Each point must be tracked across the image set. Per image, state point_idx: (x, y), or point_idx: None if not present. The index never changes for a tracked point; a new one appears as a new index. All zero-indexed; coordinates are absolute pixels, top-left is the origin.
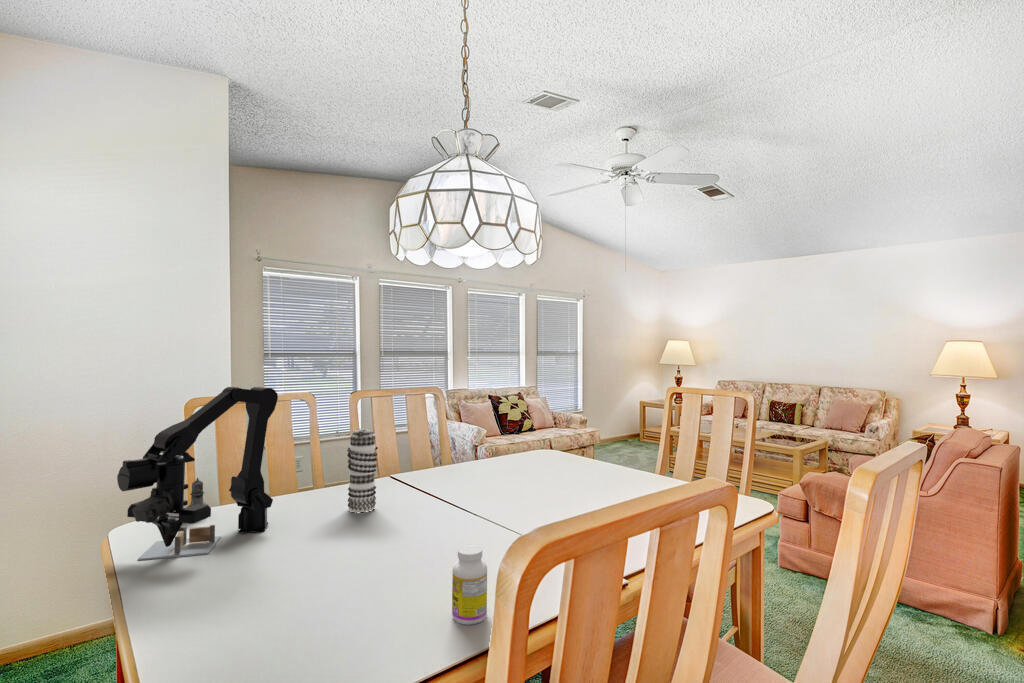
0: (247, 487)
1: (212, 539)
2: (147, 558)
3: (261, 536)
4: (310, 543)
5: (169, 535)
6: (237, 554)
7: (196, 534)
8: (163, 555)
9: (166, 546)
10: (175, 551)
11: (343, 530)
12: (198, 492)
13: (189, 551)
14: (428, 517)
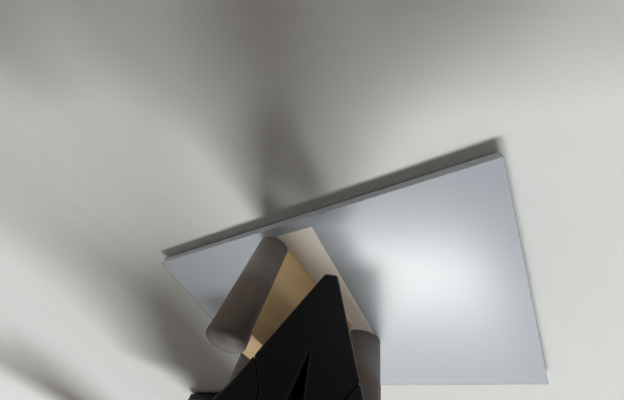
0: None
1: (240, 357)
2: (426, 178)
3: (165, 368)
4: (11, 319)
5: (263, 353)
6: (74, 257)
7: None
8: (343, 223)
9: (328, 274)
10: (267, 244)
11: (45, 370)
12: None
13: None
14: (4, 393)
